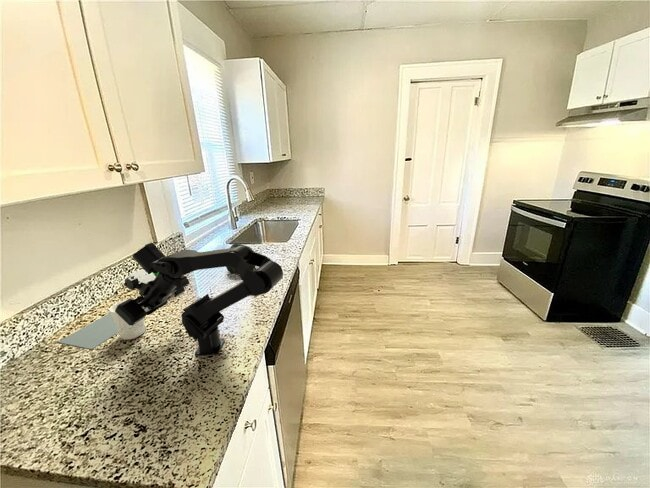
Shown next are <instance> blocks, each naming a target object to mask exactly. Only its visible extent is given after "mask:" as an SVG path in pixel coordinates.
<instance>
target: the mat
mask: <svg viewBox="0 0 650 488" xmlns="http://www.w3.org/2000/svg"><path fill="white" fill-rule="evenodd" d="M117 334H119V332H118V331H117V329H116V326H115V324H114V321H113V319H112V316H111V313H110V312H109V313H108V314H105V315H104V316H102V317H100V318H98V319H96V320H95V321H93V322H91V323H89V324H87V325H86V326H84V327H81V328H80V329H79V330H76V331H74V332H72V333H71V334H69V335H67V336H66V337H64V338H61V339H60V340H57V344H63V345H68V346H73V347H77V348H82V349H88V350H94V349H96V348H97V347H99V346H100V345H102V344H103V343H105V342H106V341H108V340H110V339H111V338H112V337H115V336H116V335H117Z"/></svg>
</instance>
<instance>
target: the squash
mask: <svg viewBox="0 0 650 488" xmlns="http://www.w3.org/2000/svg"><path fill="white" fill-rule="evenodd" d="M238 246H246V247H247V248H249V249H250V250H252V251H253V252H255V251H254V250H253V249H252V247H250V246H249V245H245V244H242V243H233V244H232V245H231V246H230V248H235V247H238ZM246 264H247V265H248V267H249V268H250V269H251V270H252V271H255V267H256V266H255V265H252V264H249V263H246ZM225 268H226V270H227V272H228V273H230V274H235V275H239V274H238V272H237V271H236V269H235V268H233V267H232V266H226V267H225Z"/></svg>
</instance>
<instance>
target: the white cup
mask: <svg viewBox="0 0 650 488" xmlns="http://www.w3.org/2000/svg"><path fill="white" fill-rule="evenodd" d="M126 300H127V299H124V300H121V301H118V302H116V303H115V304H113V305H112V306H110V307H109V309H108V311H109V313H111V316H112V319H113V321H114V324H115V326H116V329H117V331H118V332H119V333H118V335H119V337H120V339H121V340H125V341H126V340H133V339H136V338H139V337H141V336H142V335H143V334H144V333H145V332H146V330H147V329H146V328H147V327H146V324H145V317H144V318H143V319H142V320H140V321H139V322H137V323H136V324H134V325H133V326H132V325H128V324H127V323H126V322H125V321H124V320H123V319H122V318H121V317H120V316H119V315H118V314H117V313H116V312H115V309H116V307H117V306H118V305H119V304H121V303H123V302H125V301H126Z"/></svg>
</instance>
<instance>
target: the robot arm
mask: <svg viewBox="0 0 650 488" xmlns="http://www.w3.org/2000/svg"><path fill="white" fill-rule="evenodd" d="M246 246H247V245H245V246H238V247H235V248H229V247H228V248H222V249H215V250H207V251H197V250H195V249H183V250H180V251H177V252H175V253H171V254H169V255H166V256H165V254H164V253H162V251H160V249H158V247H157V246H156V244H154V242H149V243H147V244H145V245H144V246H143V247H142V248H140V249H138V250H137V251H136V252H134V253H133V254H132V259H133V260H134V261H135V262H136V263H137V264H138V265H139V266H140V268H142V269H139V270H137V271H135V272H132V273H130V275H128V276H127V277H126V279H124V286H125V287H126V288H127V289H129V290H131V291H133V290H135V289H136V290H138V291H139V292H138V295H140V296H138V297H136V298H129V299H125V300H126V301H125V302H123V303H121V304H119V305H118V306H117V307H116V309H115V312H116V313H117V314H118V315H119V316H120V317H121V318H122V319H123V320H124V321H125V322H126V323H127V324H128V325H132V326H133V325H134V324H136V323H137V322H139V321H140V320H142V319H143V318H144V319H145V317H146V316H150V315H152V314H153V313H155V312H156V311H157V310H159V309H161V308H163V307H164V306H166V305H167V304H168V303H169V300H170V299H171V296H172V295H173V294H174V296H173V297H174V298H176V299H177V298H178V297H180V296H181V295H182V294H183V293H184V292H185V291H186V289H185V287H186V286H188V285H189V284H190V280H189V279H188V276H187V275H188V274H190V273H192V272H196V271H198V270H199V271H200V270H208V269H216V268H224V267H225V268H226V266H232V267H233V268H235V269H236V271H237V272H238V274H237V275H238V276H239V278H240V280H241V281H240V282H239V283H237V284H235V285H234V286H233V285H232V286H231V287H230V288H228V289H227V290H225V291H223V292H221V293H219V294H218V295H216V296H214V297H211V296H209V294H208V293H206V294H205V295H203V296H202V297H199V298H198V299H196V300H195V301H193V302H192V303H190V304H189V305H188V306H186V307H185V308H183V309H182V311H183V312H182V313H181V315H180V317H181V323H182V325H183V327H184V329H185V331H186V332H187V335H188V336H189V338H193V339H192V340H195V341H196V340H197V344H198V347H197V348H196V350H195V352H194V356H210V355H211V356H212V355H213V356H214V355H218V354H220V352H221V349H222V347H223V345H224V343H225V338H224V337H223V338H222V337H220V332H219V326H220V325H221V324H222V323H223V322H224V320H225V316H224V315H223V313H221V312H222V311H223V310H226V309H227V308H228V307H231V306H233V305H235V304H236V303H238V302H240V301H242V300H244V299H245V298H247V297H258V296H261V295H265V294H267V293H269V292H270V291H271V290H272V289H273V288H274V287H275V286H276V285H277V284H278V283H279V282H280V281H281V280H283V277H284V271H283V268H282V267H281V265H280V264H279V263H277V262H276V261H273V260H272V259H270V258H269V257H268V256H267V255H263V254H262V253H258V252H256V251H254V250H253V249H252V250H253V251H254V252H253V251H252V250H250V249H249V248H247V247H246ZM246 263H249V264H252V265H255V267H257V268H256V269H254V270H251V269H250V268H249V267H248V265H247V264H246ZM152 272H153V273H154V274H155V273H158V272H159V274H158V275H157V276H155V275H154V274H152Z"/></svg>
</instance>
